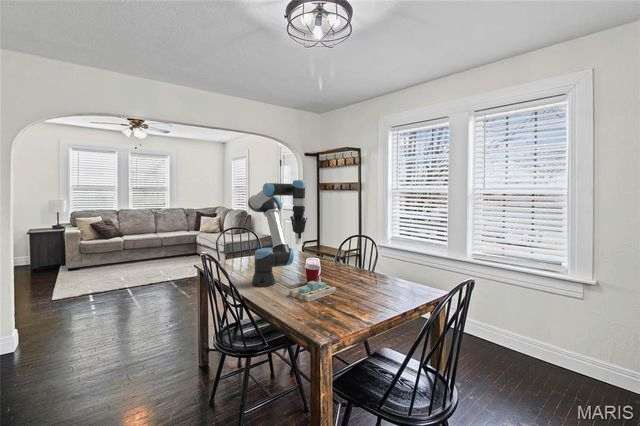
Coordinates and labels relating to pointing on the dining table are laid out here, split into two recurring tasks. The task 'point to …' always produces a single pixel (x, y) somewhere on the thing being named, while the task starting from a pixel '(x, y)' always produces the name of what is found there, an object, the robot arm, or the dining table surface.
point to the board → (312, 293)
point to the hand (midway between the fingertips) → (298, 243)
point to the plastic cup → (312, 272)
